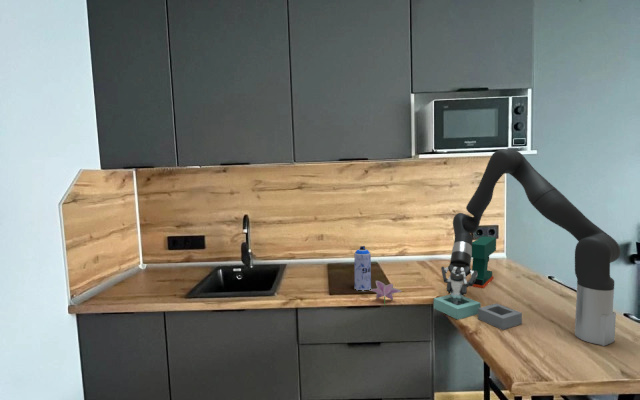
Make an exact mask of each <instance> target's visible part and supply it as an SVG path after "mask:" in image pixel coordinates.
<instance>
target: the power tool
mask: <svg viewBox="0 0 640 400" xmlns="http://www.w3.org/2000/svg"><path fill="white" fill-rule="evenodd" d="M496 251H497V237H493V236H480V237H479V238H477V239H476V240H473V241H472V257H471V259H472V264H471V265H472V266H471V270H472V271H477V273H478V276H477V278H476V280H475V282H474V284H473V286H471V287H473V288H474V287H475V288H477V289H478V288H479V289H485V287H488V285H489V284H488V283H489V282H492V280H494V275H493V270H488V268H489V267H488V265H489V262H490V256H491V255H492V254H493V253H495V252H496Z"/></svg>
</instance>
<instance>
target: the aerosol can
mask: <svg viewBox="0 0 640 400" xmlns="http://www.w3.org/2000/svg"><path fill="white" fill-rule="evenodd" d="M371 255H372V254H371V252H370V251H369V250H368V249H367V248H366V246H365V245H361V246H359V248H358V249H356V251H355V252H354V290H355V289H356V290H355V291H358V290H362V291H361V292H365V291H364V290H369V291H370V289H372V281H371V280H372V278H371V277H372V276H371V275H372V273H371V272H372V267H371V265H372V264H371V263H372V261H371V260H372V259H371Z"/></svg>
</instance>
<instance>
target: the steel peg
mask: <svg viewBox="0 0 640 400" xmlns="http://www.w3.org/2000/svg"><path fill="white" fill-rule="evenodd" d="M449 277H450V279H451V293H450V294H451V303H453V304H455V305H461V304H463V295H462V287H463V284H464V283H463V280H464V274H463V273H460V272H451V273H450V272H449Z"/></svg>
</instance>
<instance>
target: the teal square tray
mask: <svg viewBox="0 0 640 400" xmlns="http://www.w3.org/2000/svg"><path fill="white" fill-rule="evenodd" d="M481 307H482V305H481V302H479V301H477V300H474V299H471V298H469V297H467V296H465V295H464V296H463V304H461V305H455V304H453V303H451V293H449V294H447V295H443V296H438V297H434V298H433V310H437V311H438V312H441V313H443V314H446V316H449V317H452V318H453V319H456V320H461V319H465V318H468V317H472V316H475V315H478V308H481Z"/></svg>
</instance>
